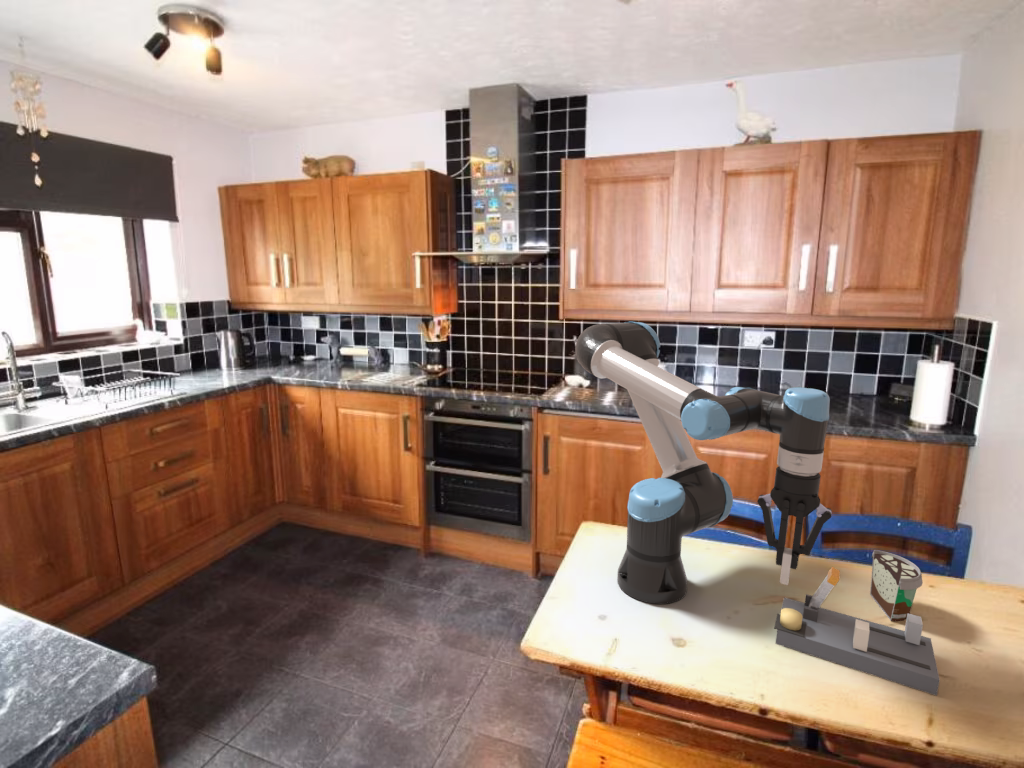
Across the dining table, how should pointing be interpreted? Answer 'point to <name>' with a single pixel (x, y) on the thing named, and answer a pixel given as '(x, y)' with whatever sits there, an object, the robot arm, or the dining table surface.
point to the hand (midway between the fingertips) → (784, 580)
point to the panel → (883, 658)
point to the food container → (894, 584)
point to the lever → (824, 588)
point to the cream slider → (861, 635)
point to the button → (791, 619)
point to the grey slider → (913, 629)
